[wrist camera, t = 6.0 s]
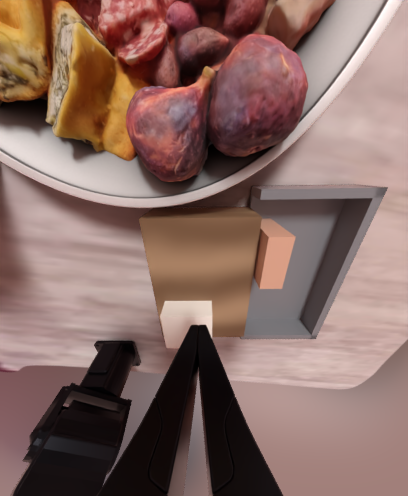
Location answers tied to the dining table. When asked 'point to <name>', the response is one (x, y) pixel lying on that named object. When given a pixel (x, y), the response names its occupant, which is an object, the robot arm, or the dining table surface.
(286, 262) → the terracotta tile
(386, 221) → the dining table surface
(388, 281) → the dining table surface
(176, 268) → the board
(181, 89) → the bowl
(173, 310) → the cream tile
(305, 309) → the tray
